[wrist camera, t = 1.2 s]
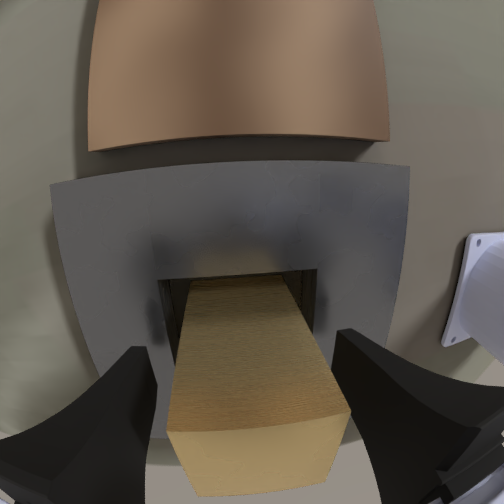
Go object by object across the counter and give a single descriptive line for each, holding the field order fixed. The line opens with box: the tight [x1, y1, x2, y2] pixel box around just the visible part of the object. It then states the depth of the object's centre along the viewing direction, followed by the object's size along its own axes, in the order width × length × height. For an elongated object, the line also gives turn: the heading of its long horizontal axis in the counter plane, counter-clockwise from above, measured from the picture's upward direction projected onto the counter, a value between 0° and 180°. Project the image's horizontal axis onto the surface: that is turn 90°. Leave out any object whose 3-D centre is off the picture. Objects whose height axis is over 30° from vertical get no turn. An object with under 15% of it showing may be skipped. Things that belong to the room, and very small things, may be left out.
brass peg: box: [166, 274, 351, 496], centre depth 9 cm, size 4×4×8 cm
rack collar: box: [50, 160, 410, 439], centre depth 12 cm, size 14×14×2 cm
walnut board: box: [88, 0, 390, 152], centre depth 9 cm, size 12×10×1 cm
